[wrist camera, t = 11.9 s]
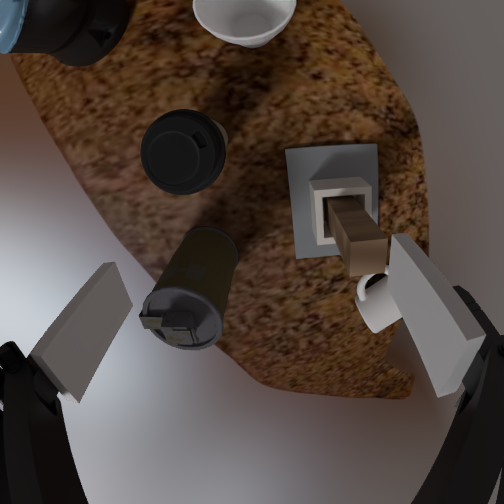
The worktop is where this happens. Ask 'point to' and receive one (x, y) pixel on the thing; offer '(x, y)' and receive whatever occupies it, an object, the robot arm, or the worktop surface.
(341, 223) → the brown wooden block
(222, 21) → the cup
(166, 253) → the worktop surface
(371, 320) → the mug
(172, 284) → the canister
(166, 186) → the coffee cup
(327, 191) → the white square holder
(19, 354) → the robot arm
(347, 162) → the mat
